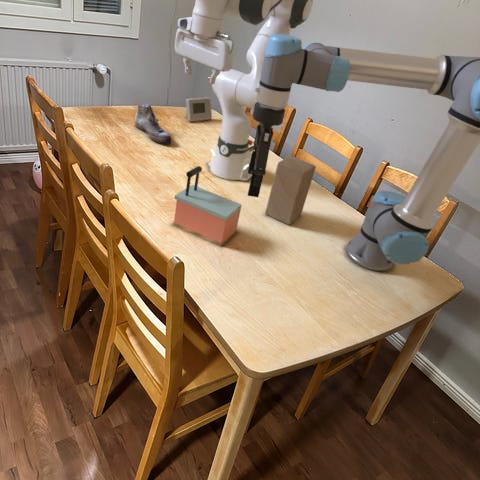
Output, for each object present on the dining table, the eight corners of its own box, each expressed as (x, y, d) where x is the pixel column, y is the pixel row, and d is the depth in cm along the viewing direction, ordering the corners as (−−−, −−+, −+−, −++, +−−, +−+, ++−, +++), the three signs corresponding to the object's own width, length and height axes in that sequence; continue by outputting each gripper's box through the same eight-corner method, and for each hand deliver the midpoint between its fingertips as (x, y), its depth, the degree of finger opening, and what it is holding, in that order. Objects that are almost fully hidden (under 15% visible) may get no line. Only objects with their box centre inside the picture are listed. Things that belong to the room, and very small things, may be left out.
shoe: (175, 145, 192) (178, 118, 185) (151, 146, 186) (153, 118, 180) (154, 124, 209) (157, 98, 202) (132, 124, 203) (133, 97, 197)
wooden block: (289, 225, 152) (304, 173, 141) (264, 214, 155) (277, 162, 145) (301, 216, 159) (316, 165, 149) (277, 205, 163) (290, 155, 152)
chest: (173, 225, 138) (176, 199, 133) (190, 213, 146) (194, 188, 142) (220, 246, 133) (225, 220, 129) (235, 232, 142) (241, 208, 137)
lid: (174, 198, 134) (177, 171, 129) (192, 187, 142) (195, 161, 137) (225, 220, 129) (231, 192, 124) (241, 207, 137) (247, 181, 132)
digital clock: (187, 122, 220) (190, 101, 214) (179, 116, 226) (181, 95, 220) (214, 122, 229) (218, 101, 223) (206, 115, 235) (209, 95, 229)
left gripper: (242, 37, 119) (232, 89, 126) (189, 19, 129) (183, 68, 136) (226, 36, 115) (217, 90, 122) (173, 18, 124) (168, 68, 132)
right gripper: (254, 89, 116) (239, 163, 127) (255, 117, 95) (237, 203, 106) (282, 94, 116) (265, 168, 128) (289, 124, 95) (268, 209, 106)
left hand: (199, 78), depth 129 cm, fingers open, 8 cm apart
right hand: (252, 184), depth 117 cm, fingers open, 13 cm apart
